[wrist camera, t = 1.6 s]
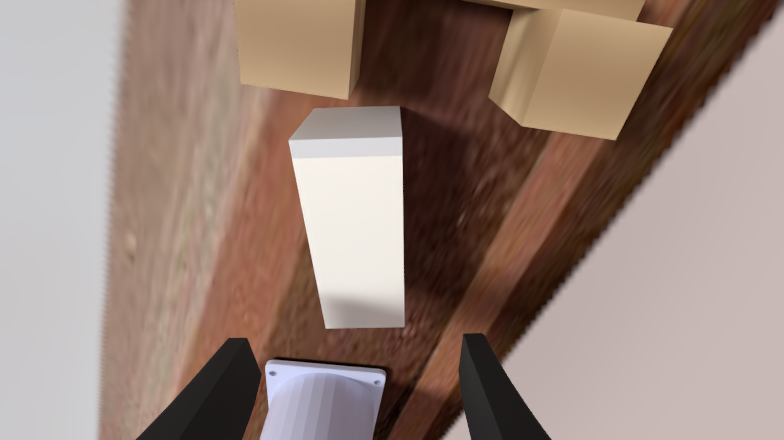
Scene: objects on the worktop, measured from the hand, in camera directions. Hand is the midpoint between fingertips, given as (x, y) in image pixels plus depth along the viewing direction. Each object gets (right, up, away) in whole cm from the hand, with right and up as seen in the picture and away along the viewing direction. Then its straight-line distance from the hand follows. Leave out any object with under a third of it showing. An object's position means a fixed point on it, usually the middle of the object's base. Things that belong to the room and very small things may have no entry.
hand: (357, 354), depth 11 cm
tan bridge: (+3, +11, +1) cm, 11 cm away
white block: (0, +5, +5) cm, 7 cm away
